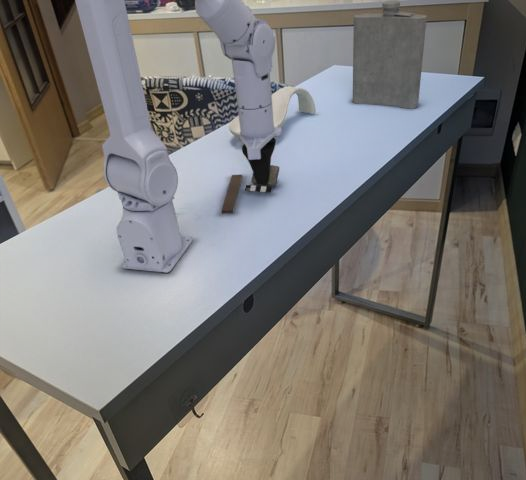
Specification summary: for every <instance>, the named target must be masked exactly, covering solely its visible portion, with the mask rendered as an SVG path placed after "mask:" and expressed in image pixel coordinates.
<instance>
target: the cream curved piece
mask: <svg viewBox="0 0 526 480" xmlns="http://www.w3.org/2000/svg"><path fill="white" fill-rule="evenodd" d="M295 94H296V95H297V100H298V101H297V102H298V111H299V112H301V113H306V114H311V115H313V114H315V113H316V112H317V109H316V104H315V101H314V98H313V96H312V95H311V93H310V92H309V91H308V90H307V89H306V88H303V87H295V86H292V85H291V86H289V85H288V86H284V87H281V88H279V89H278V90H276V91H275V92H273V93H271V96H272V108H273V120H274V127H280V128H281V129H282V127H283V125H284V122H285V119H286V115H287V112H288V109H289V104H290V101H291V98H292V97H293V95H295ZM228 130H229V131H230V133H231V134H232V136H234V137H235V138H236V139H238V140H240V141H242V140H241V138H240V131H241V130H240V122H239V115H236V117H234V118H233V119H232V120H231V121H230V122H229V124H228ZM242 142H243V141H242Z"/></svg>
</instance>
